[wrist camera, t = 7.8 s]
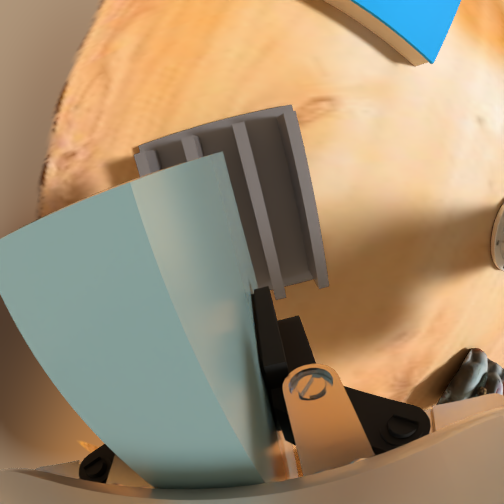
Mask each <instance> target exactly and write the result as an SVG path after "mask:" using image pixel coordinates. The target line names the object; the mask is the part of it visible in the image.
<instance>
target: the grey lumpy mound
mask: <svg viewBox="0 0 504 504" xmlns="http://www.w3.org/2000/svg"><path fill="white" fill-rule="evenodd" d="M493 393H497V394H501V395H503V396H504V369H503V368H502V367H501V366H500V365H498V364H497V363H494V362H493V361H491V360H489V359H488V358H487V355H486V354H485V353H484V352H483V351H482V350H481V349H477V348H476V349H470V351H469V353H468V355H467V356H466V358H465V360H464V362H463V364H462V365H461V367H460V369H459V370H458V372H457V373H456V375H455V376H454V378H453V379H452V380H451V382H450V383H449V385H448V387H447V389H446V390H445V392H444V393H443V395H442V396H441V398H440V399H439V401H438V403H437V404H436V405H439V404H445V403H450V402H455V401H460V400H465V399H470V398H474V397H478V396H482V395H486V394H493Z"/></svg>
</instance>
